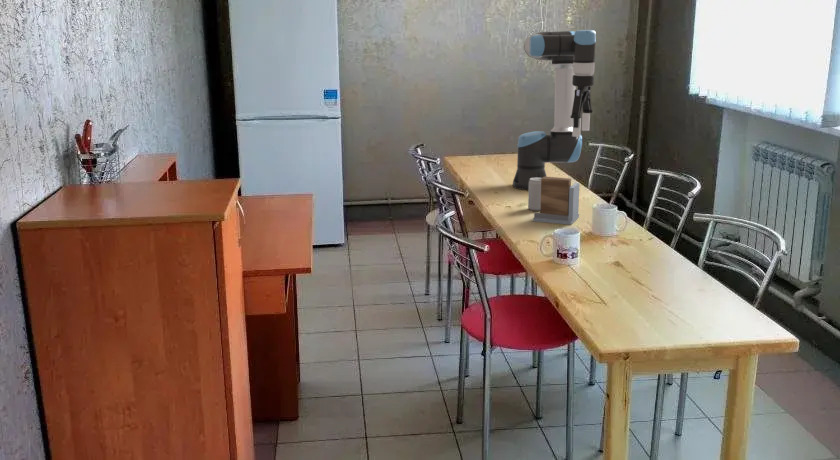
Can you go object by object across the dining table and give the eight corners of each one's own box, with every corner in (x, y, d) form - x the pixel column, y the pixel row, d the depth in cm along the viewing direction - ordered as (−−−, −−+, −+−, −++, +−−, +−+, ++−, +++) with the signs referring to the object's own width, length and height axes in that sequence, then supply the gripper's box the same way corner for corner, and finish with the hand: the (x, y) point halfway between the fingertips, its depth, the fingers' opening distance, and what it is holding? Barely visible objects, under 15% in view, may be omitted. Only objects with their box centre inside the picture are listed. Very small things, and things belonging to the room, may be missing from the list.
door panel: (542, 213, 290) (543, 176, 287) (569, 216, 287) (571, 178, 283) (540, 216, 287) (541, 178, 284) (567, 218, 283) (568, 180, 280)
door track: (541, 213, 295) (542, 179, 292) (579, 216, 289) (580, 182, 286) (532, 221, 284) (533, 185, 281) (571, 224, 279) (572, 188, 275)
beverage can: (544, 211, 297) (545, 180, 294) (527, 211, 299) (528, 180, 295) (545, 207, 303) (546, 177, 300) (528, 207, 305) (529, 176, 301)
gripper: (581, 71, 294) (579, 127, 300) (563, 77, 273) (561, 138, 279) (601, 71, 291) (598, 128, 297) (585, 78, 270) (582, 139, 276)
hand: (580, 133), depth 288 cm, fingers open, 13 cm apart
